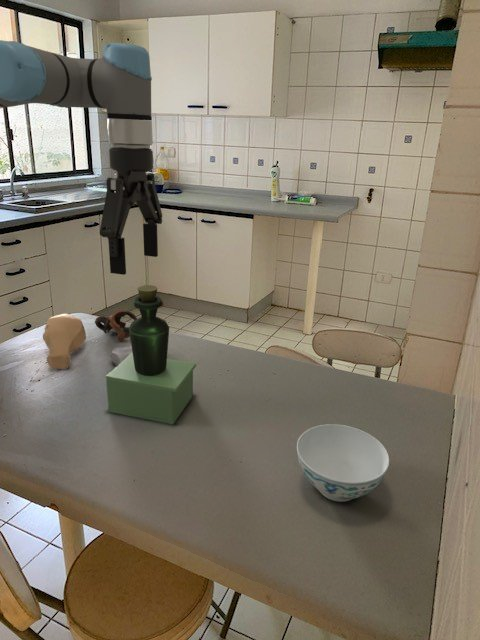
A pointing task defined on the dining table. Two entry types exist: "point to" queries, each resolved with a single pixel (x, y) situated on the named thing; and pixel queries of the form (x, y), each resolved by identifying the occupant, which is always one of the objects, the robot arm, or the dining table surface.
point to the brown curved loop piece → (115, 323)
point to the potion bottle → (149, 334)
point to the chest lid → (165, 381)
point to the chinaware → (341, 461)
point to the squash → (63, 339)
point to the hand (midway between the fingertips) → (135, 264)
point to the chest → (149, 400)
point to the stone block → (120, 354)
